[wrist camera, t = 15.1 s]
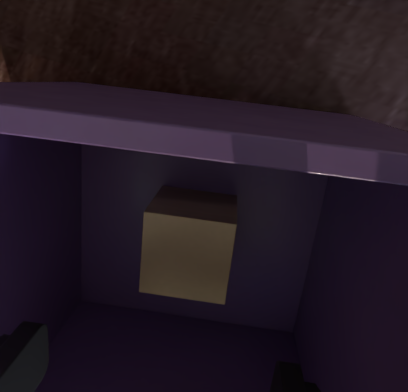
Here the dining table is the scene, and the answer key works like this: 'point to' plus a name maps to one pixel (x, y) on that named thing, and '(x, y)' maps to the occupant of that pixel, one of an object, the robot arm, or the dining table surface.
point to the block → (188, 244)
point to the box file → (243, 246)
